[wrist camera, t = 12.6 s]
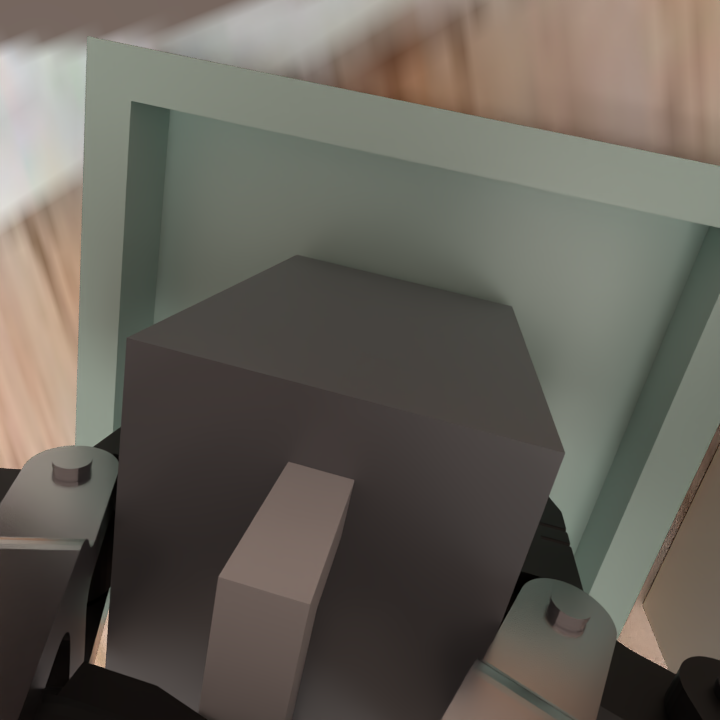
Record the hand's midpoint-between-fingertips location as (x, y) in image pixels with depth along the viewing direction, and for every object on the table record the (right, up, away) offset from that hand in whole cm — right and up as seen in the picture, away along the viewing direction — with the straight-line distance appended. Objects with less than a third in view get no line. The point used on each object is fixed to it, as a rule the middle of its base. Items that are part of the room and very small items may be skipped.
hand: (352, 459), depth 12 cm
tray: (+1, +1, +3) cm, 3 cm away
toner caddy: (0, +1, +2) cm, 2 cm away
